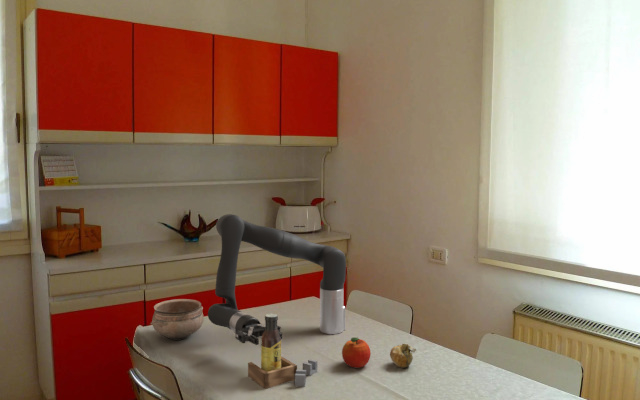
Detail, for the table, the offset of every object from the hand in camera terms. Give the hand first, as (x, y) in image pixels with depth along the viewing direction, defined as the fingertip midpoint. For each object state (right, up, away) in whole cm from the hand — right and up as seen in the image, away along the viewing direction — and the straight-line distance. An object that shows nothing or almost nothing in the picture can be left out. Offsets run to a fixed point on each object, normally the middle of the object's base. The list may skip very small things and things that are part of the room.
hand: (269, 339), depth 169 cm
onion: (+43, -12, +10) cm, 45 cm away
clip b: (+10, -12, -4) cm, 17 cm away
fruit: (+28, -11, +10) cm, 32 cm away
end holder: (+1, -12, 0) cm, 12 cm away
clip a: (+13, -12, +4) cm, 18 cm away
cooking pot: (-38, -9, +36) cm, 53 cm away
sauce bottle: (0, -12, 0) cm, 12 cm away
